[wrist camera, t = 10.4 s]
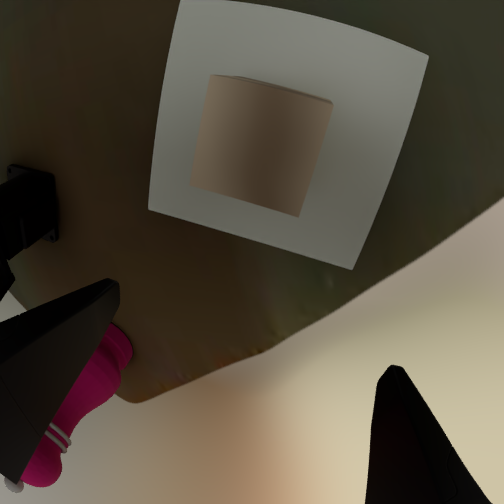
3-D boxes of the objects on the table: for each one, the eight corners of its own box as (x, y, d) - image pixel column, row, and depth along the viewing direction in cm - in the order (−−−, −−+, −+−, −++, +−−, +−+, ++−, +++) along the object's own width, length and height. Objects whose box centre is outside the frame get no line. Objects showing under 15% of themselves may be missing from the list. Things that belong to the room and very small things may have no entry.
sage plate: (154, 203, 22) (148, 209, 21) (188, 0, 15) (181, -3, 14) (351, 262, 21) (352, 270, 20) (423, 57, 14) (428, 55, 13)
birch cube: (221, 159, 18) (189, 185, 14) (240, 76, 16) (210, 74, 11) (305, 183, 18) (298, 217, 14) (330, 100, 15) (333, 105, 11)
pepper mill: (75, 303, 30) (-39, 449, 13) (134, 326, 29) (24, 503, 12) (87, 349, 33) (-1, 480, 16) (140, 371, 33) (58, 522, 16)
